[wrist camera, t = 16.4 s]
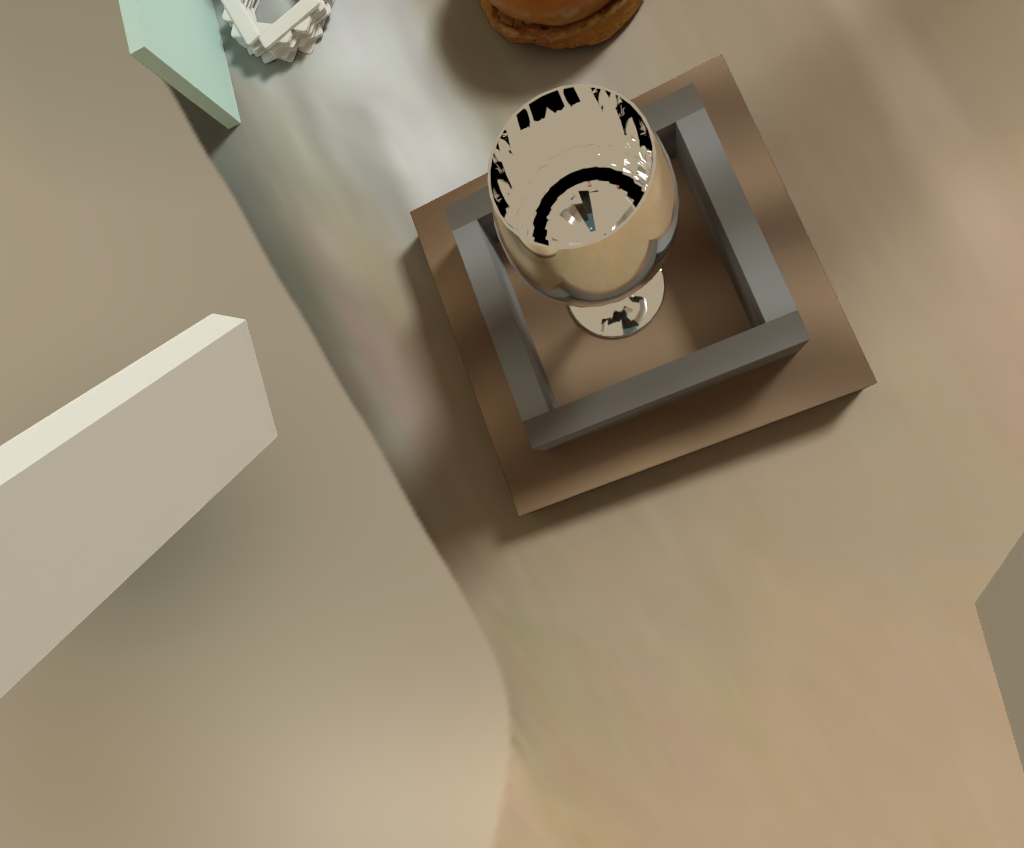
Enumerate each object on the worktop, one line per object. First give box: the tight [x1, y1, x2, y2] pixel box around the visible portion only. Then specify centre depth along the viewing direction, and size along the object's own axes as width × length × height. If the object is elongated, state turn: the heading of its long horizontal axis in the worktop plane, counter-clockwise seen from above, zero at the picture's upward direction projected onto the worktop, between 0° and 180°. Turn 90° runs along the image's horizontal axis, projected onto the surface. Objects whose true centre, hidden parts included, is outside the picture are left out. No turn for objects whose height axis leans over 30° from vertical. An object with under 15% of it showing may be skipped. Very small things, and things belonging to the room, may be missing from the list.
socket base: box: [410, 54, 877, 516], centre depth 28 cm, size 16×16×5 cm
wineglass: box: [488, 84, 680, 338], centre depth 23 cm, size 6×6×12 cm
